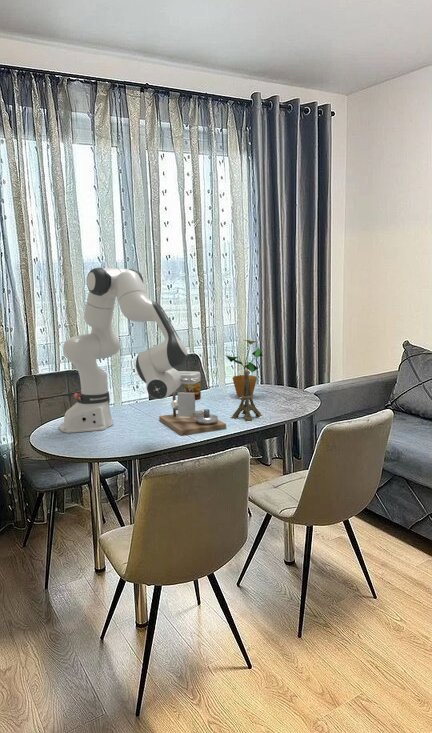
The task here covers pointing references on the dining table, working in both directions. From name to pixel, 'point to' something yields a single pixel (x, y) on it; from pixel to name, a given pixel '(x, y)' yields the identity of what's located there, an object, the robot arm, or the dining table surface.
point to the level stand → (188, 422)
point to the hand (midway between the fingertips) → (178, 373)
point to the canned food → (194, 389)
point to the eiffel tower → (246, 401)
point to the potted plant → (240, 379)
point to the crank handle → (192, 409)
